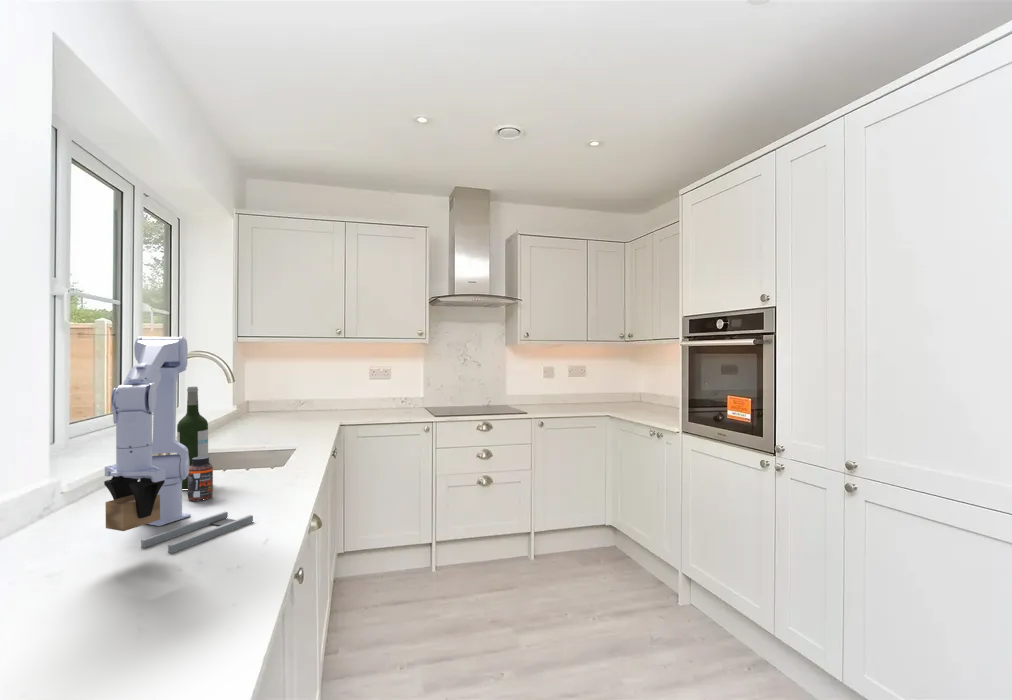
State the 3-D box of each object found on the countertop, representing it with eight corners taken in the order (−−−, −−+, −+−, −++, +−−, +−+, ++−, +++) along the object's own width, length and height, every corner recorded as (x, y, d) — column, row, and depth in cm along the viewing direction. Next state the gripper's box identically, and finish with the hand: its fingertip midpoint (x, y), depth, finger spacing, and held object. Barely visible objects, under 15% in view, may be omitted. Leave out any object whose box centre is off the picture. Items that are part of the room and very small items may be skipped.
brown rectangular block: (105, 528, 98) (105, 502, 98) (142, 516, 104) (142, 492, 104) (123, 531, 96) (123, 504, 96) (160, 519, 103) (159, 494, 103)
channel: (141, 547, 106) (140, 540, 106) (224, 517, 125) (224, 511, 125) (171, 553, 103) (171, 545, 103) (252, 521, 121) (252, 515, 121)
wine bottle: (181, 485, 156) (181, 386, 156) (211, 482, 158) (210, 385, 158) (173, 491, 148) (173, 388, 148) (204, 489, 151) (204, 387, 151)
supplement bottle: (201, 502, 138) (201, 460, 138) (182, 501, 139) (182, 459, 139) (217, 496, 143) (217, 455, 143) (199, 495, 145) (199, 454, 145)
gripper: (87, 447, 99) (87, 517, 99) (139, 452, 94) (139, 526, 94) (125, 441, 106) (125, 506, 106) (175, 445, 101) (175, 514, 101)
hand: (134, 515), depth 100 cm, fingers closed on brown rectangular block, 5 cm apart
